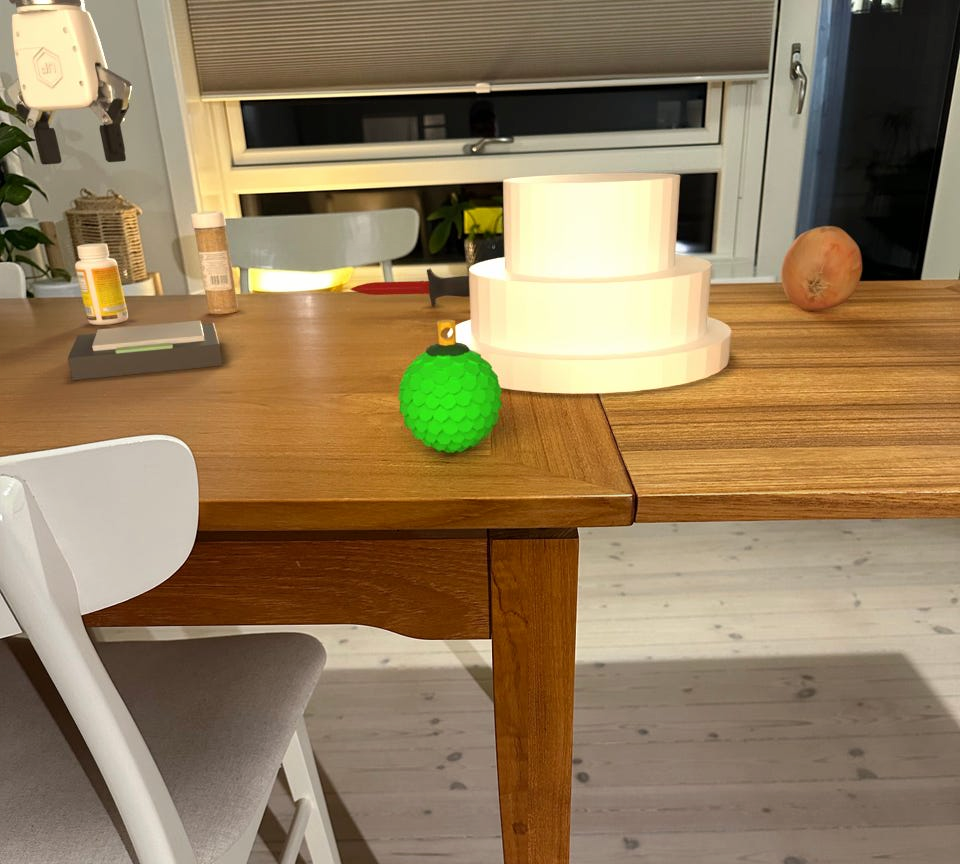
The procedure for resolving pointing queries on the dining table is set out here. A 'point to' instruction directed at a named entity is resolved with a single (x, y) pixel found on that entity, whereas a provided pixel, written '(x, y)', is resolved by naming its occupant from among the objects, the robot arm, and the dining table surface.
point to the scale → (144, 350)
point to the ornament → (450, 395)
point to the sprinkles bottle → (215, 261)
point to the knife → (420, 287)
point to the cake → (593, 289)
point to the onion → (821, 268)
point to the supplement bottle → (100, 285)
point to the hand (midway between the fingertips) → (83, 162)
